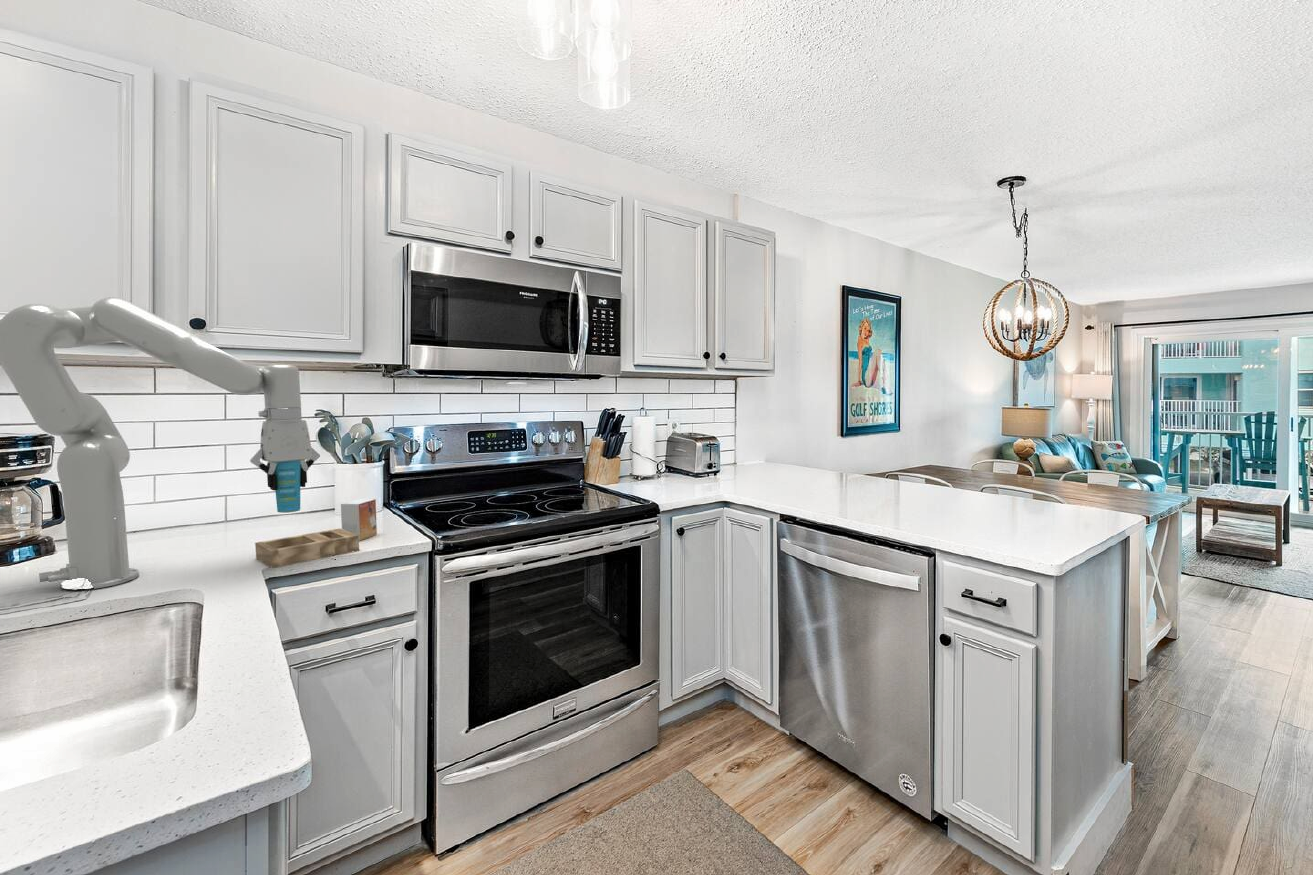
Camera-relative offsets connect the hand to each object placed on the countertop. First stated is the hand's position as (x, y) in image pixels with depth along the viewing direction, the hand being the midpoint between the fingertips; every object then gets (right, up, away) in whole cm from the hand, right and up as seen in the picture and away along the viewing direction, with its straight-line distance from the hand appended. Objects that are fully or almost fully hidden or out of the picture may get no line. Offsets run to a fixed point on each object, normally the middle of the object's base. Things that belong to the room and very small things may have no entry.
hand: (288, 487), depth 148 cm
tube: (0, -6, +1) cm, 6 cm away
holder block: (+3, -17, +4) cm, 18 cm away
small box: (+7, -16, +22) cm, 28 cm away
